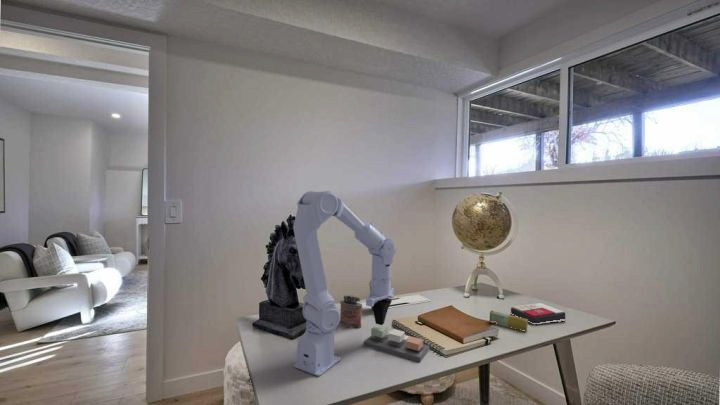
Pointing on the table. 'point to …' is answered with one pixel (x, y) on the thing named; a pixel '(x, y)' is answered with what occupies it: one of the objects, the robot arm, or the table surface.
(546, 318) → the white and crimson box
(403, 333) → the key ivory
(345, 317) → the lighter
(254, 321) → the table surface
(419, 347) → the key terracotta
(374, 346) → the dark grey base plate
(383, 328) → the key sage
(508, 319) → the medication box
